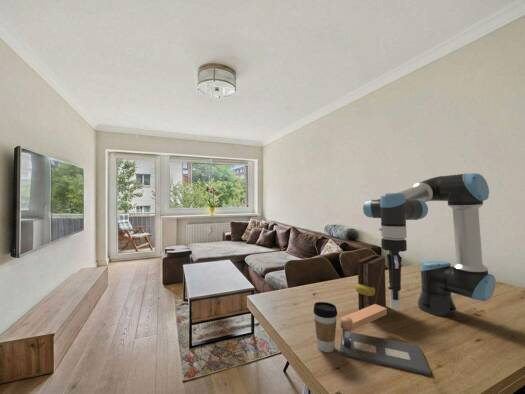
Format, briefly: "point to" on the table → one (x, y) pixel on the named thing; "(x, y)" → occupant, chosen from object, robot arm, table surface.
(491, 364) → the table surface
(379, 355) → the plate
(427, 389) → the table surface
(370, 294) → the book
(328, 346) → the coffee cup
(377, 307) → the cable arm
